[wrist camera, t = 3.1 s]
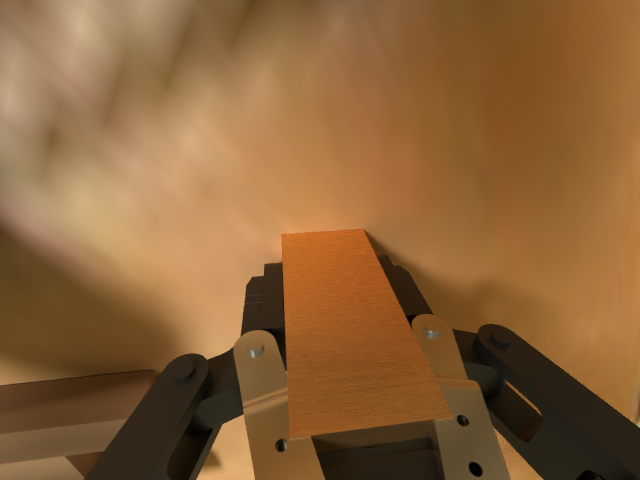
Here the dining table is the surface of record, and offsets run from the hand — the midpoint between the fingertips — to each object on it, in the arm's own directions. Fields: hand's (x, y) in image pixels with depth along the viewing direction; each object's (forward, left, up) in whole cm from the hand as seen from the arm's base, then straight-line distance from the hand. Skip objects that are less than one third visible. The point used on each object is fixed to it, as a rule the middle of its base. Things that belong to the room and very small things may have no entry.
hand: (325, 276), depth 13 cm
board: (+11, -13, -1) cm, 17 cm away
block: (0, 0, -1) cm, 1 cm away
